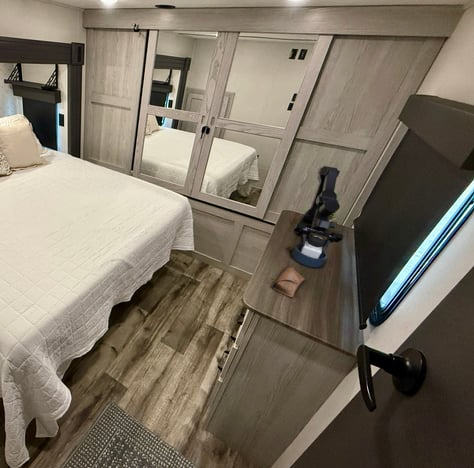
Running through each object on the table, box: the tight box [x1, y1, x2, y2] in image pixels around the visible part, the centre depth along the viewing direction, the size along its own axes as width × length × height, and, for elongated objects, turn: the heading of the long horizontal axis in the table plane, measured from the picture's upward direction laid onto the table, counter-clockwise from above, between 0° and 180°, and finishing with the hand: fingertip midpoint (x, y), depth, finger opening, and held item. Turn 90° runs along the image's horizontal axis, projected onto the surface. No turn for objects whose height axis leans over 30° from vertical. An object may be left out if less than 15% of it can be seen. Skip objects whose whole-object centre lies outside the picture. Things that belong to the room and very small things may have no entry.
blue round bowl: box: [290, 242, 328, 268], centre depth 134 cm, size 13×13×5 cm
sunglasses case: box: [272, 265, 306, 298], centre depth 118 cm, size 18×7×7 cm
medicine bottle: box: [300, 235, 325, 258], centre depth 132 cm, size 7×7×12 cm
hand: (312, 248), depth 131 cm, fingers closed on medicine bottle, 7 cm apart
